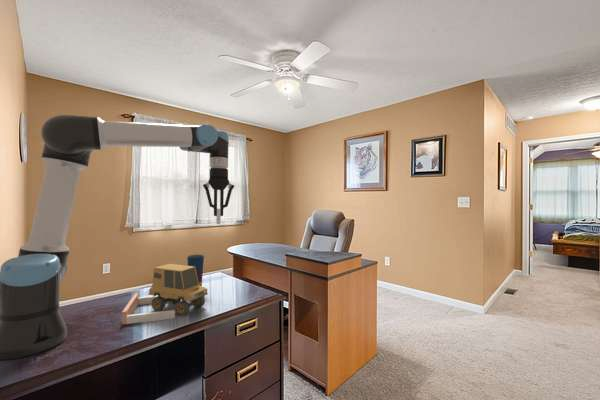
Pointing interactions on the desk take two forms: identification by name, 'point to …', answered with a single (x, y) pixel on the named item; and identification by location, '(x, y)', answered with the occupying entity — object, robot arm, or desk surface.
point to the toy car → (177, 288)
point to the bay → (143, 317)
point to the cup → (197, 265)
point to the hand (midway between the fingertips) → (218, 223)
